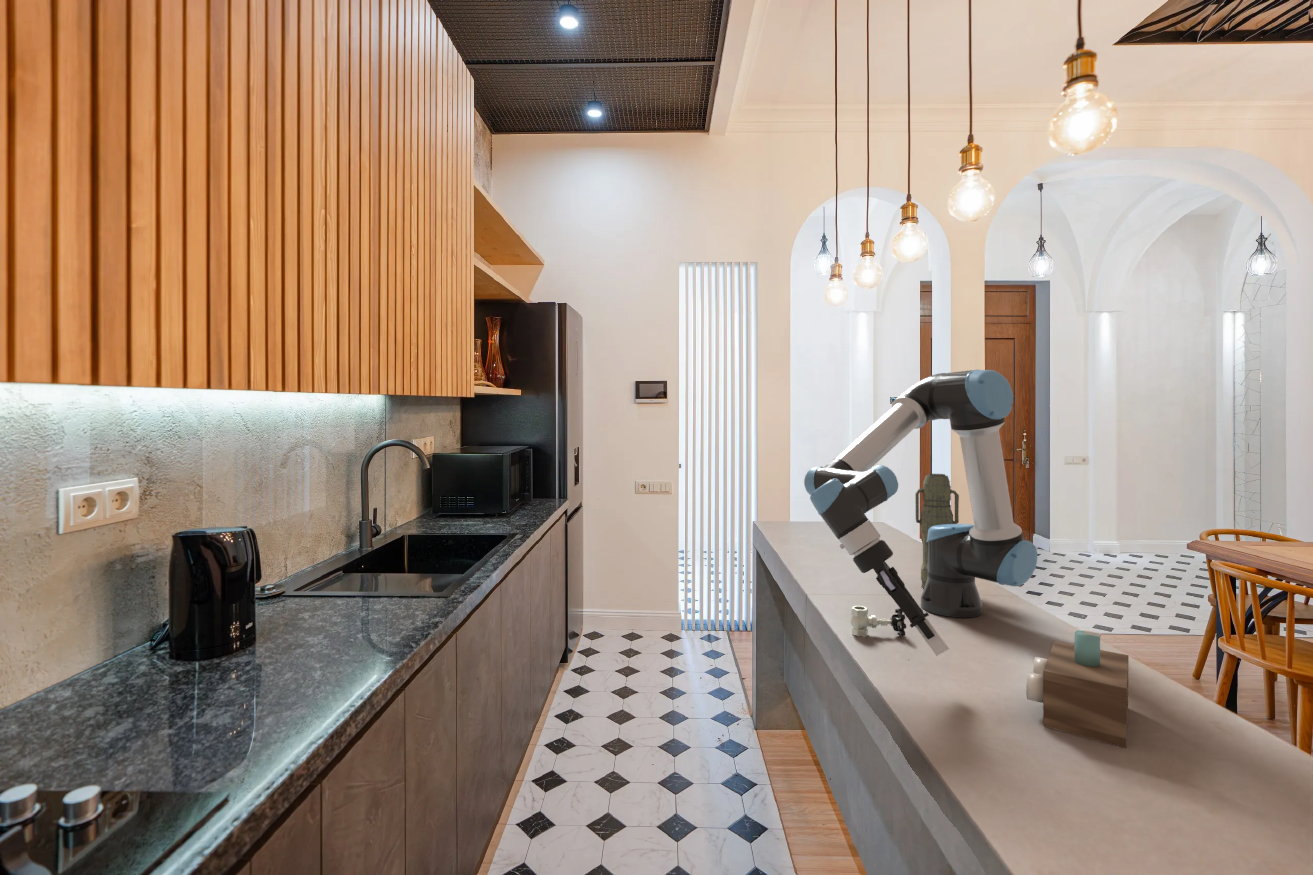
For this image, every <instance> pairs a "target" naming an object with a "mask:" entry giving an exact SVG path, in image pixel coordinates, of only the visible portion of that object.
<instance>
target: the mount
mask: <svg viewBox="0 0 1313 875" xmlns="http://www.w3.org/2000/svg"><path fill="white" fill-rule="evenodd" d="M1074 648H1075V644H1070V643H1065V642H1060V641H1054V642H1053V644H1052V648H1051V650H1050V653H1049V655H1048V657H1047V659H1048V660H1047V662H1046V665H1045V668H1044V670H1043V703H1042V705H1043V707H1042V713H1043V714H1042V723H1043V724H1042V726H1043V727H1046V728H1048V729H1049V728H1050V729H1053V730H1057V731H1061V732H1064V733H1069V734H1071V735H1076V736H1079V737H1083V738H1087V739H1091V740H1095V741H1098V742H1102V743H1106V744H1108V745H1109V744H1110V745H1112V746H1113V745H1114V746H1117V747H1121V748H1124V749H1126V748H1127V738H1128V737H1127V736H1128V721H1129V718H1128V717H1129V654H1126V653H1125V654H1123V653H1118V652H1113V651H1108V650H1102V649H1100V666H1099V667H1088V666H1084V665H1080V664H1078V663H1076V662H1075V661H1074Z"/></svg>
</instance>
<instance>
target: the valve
mask: <svg viewBox="0 0 1313 875" xmlns="http://www.w3.org/2000/svg"><path fill="white" fill-rule="evenodd" d="M868 615H869V609H868V607H866V606H863V605H855V606H852V607H851V617H850V624H851V626H852V628H851V634H852V633H853V634H855V635H857V636H866V635H867V634H868V635H869V627H870V628H871V629H877V627H878V626H881V627H888V625H890V627H892V629H893V631H895V632H897V636H898V635H902V637H903V636H906V631H905V630H906V629H907V624H906V623H905V620H906V615H905V614H904V613H903V611H902V610H901V609H900V608H895V609H894V614H892V615H891V616H890V618H889V619H888V618H886V617H880V619H879V617H877V616H876V615H874V614H873V615H872V614H871V615H870V616H868ZM868 635H867V636H868ZM867 636H866V637H867Z"/></svg>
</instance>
